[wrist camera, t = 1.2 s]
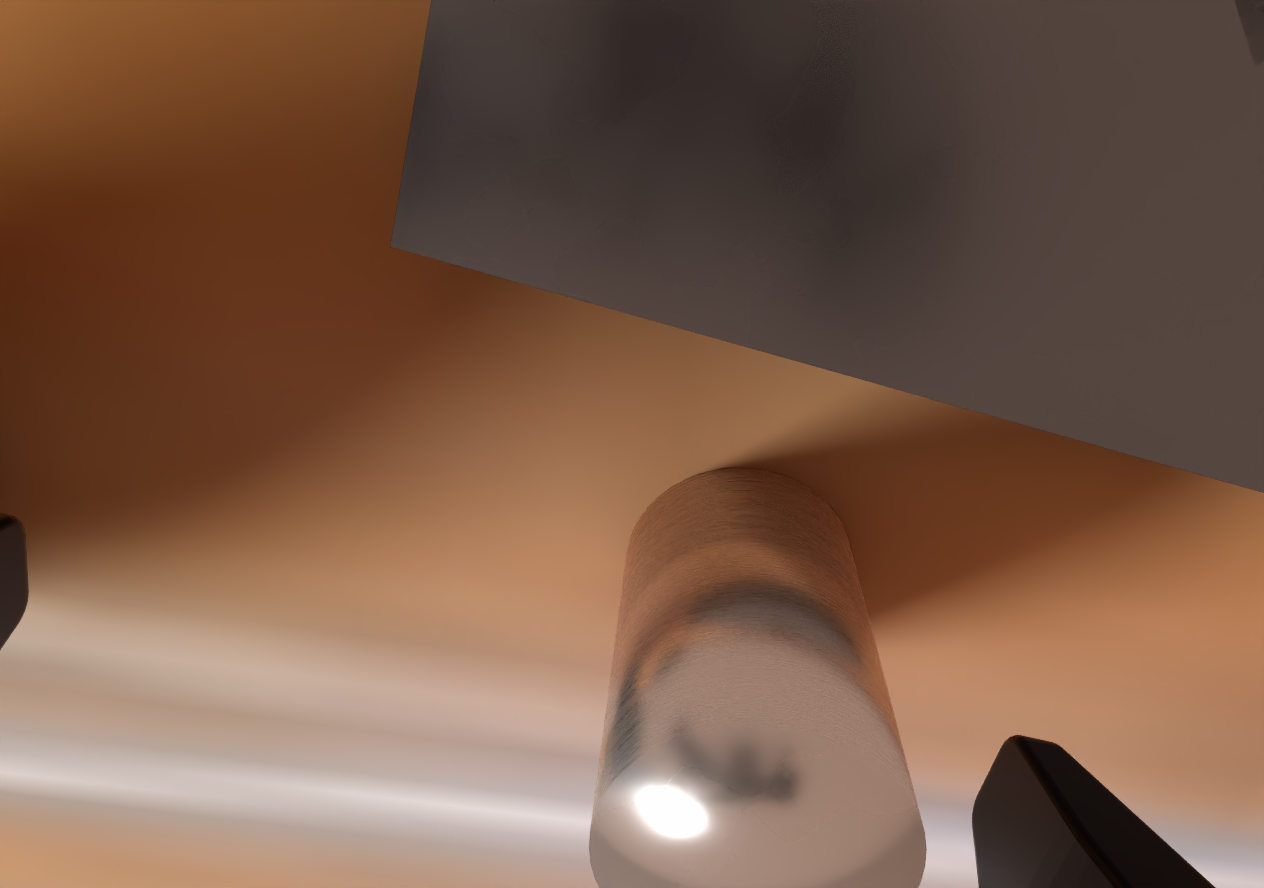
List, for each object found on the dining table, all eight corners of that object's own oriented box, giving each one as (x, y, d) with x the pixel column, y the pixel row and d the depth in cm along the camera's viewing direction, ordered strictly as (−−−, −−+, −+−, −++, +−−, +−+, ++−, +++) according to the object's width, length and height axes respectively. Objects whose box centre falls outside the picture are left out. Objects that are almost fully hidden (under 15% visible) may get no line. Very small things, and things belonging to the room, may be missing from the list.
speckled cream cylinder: (807, 682, 23) (854, 1000, 16) (601, 628, 23) (555, 927, 16) (886, 503, 21) (981, 776, 14) (660, 441, 21) (638, 687, 14)
